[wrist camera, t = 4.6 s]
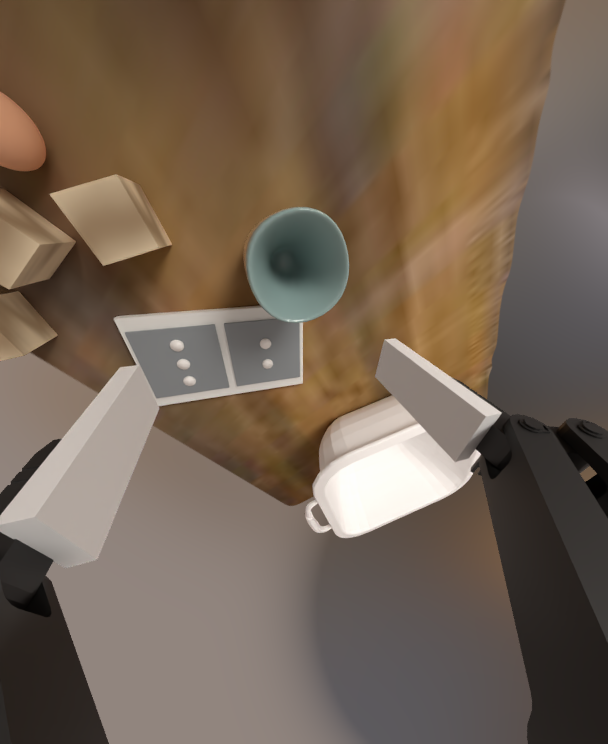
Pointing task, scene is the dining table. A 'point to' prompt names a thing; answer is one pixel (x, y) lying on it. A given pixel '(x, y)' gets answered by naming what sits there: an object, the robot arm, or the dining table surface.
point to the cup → (296, 264)
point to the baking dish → (380, 470)
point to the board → (213, 352)
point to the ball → (19, 138)
